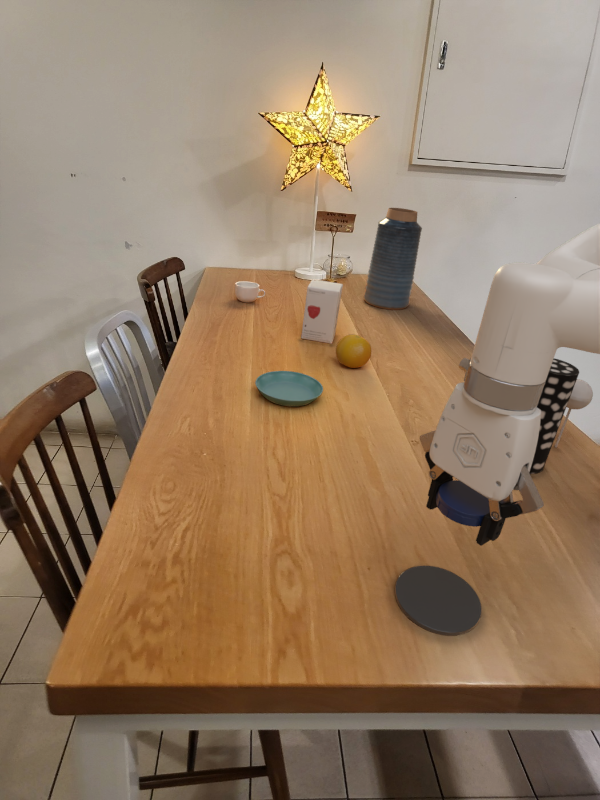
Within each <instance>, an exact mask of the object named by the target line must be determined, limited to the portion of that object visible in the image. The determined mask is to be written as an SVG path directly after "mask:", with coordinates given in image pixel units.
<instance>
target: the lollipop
mask: <svg viewBox="0 0 600 800" xmlns="http://www.w3.org/2000/svg"><path fill="white" fill-rule="evenodd" d="M593 396H594V392H593V388H592V387H591V385H590V384H589V383H588V382H586V381H585V380H583V379H579V378H577V380H576V383H575V385H574V388H573V391H572V393H571V396H570V399H569V401H568V404H567V407H566V409H567V412H566V415H565V417H564V420H563V423H562V426H561V428H560V430H559V434H558V437H557V439H556V442H555V444H554V448H558V446H559V443H560V441H561V438H562V435H563V433H564V431H565V427H566V424H567V422H568V419H569V417H570V414H571V412H572V410H581V409H585V408H586V407H587V406H588V405H590V403H591V402H592V400H593Z"/></svg>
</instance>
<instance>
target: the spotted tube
mask: <svg viewBox="0 0 600 800" xmlns="http://www.w3.org/2000/svg"><path fill="white" fill-rule="evenodd" d="M579 374H580V370H579V369H578V368H577V366H575V365H573V364H572V363H569V362H567V361H566V360H565V361H564V360H562V359H558V358H555V357H554V359H553V362H552V364H551V367H550V370H549V373H548V376H547V379H546V382H545V385H544V388H543V390H542V393H541V396H540V399H539V402H538V404H537V408H539V409H540V410H541V420H540V429H539V436H538V441H537V446H536V451H535V455H534V458H533V462H532V465H531V469H530V472H529V473H530V475H531V474H532V475H535V474H539V473H541V472H543V470H544V468H545V467H546V464H547V460H548V458H549V455H550V452H551V449H552V447H553V444H554V442H555V439H556V436H557V433H558V431H559V428H560V425H561V423H562V420H563V418H564V415H565V412H566V410H567V404H568V401H569V399H570V396H571V393H572V391H573V388H574V385H575V383H576V380H577V379H578V378H579Z"/></svg>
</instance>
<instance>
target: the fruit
mask: <svg viewBox="0 0 600 800" xmlns="http://www.w3.org/2000/svg"><path fill="white" fill-rule="evenodd" d="M335 355H336V358H337V361H338V362H339V363H341V365H343V366H345V367H348V368H351V369H352V368H353V369H357V368H362V367H363V366H365V365H366V364H368V362H369V361H370V360H371V357H372V346H371V344H370V342H369V341H368V340H367V339H366V338H364V337H362V336H361V335H359V334H354V333H353V334H346V335H344V336H342V337H341V338H340V339H339V340H338V342H337V343H336V346H335Z"/></svg>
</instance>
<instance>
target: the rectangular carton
mask: <svg viewBox="0 0 600 800" xmlns="http://www.w3.org/2000/svg"><path fill="white" fill-rule="evenodd" d="M309 282H310V283H309V284H308V285H307V288H306V296H305V302H304V303H305V304H304V311H303V319H302V320H303V321H302V329H301V335H300V338H301V339H302V340H307V341H312V342H313V341H314V342H319V343H320V342H321V343H325V344H333V342H334V339H335V336H336V332H337V326H338V319H339V313H340V305H341V299H342V294H343V293H342V292H343V287H344V284H343V283H339V282H332V281H328V280H320V279H313V278H312V279H311V281H309Z"/></svg>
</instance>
